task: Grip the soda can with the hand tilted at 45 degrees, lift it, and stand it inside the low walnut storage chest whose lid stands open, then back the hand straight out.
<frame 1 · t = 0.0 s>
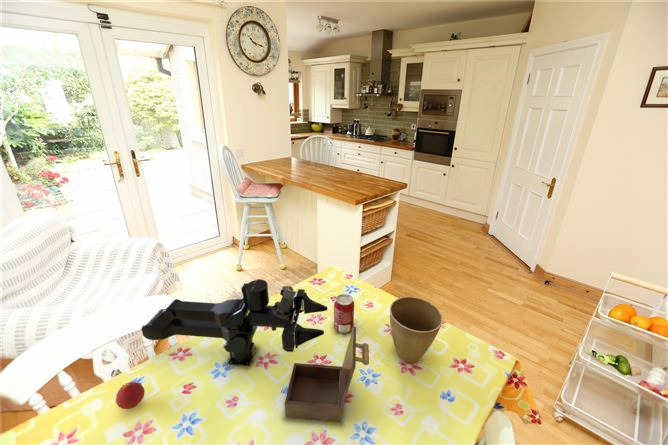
hand: (325, 319, 80), 17 cm above the table, tool horizontal, fingers open, 9 cm apart
onion: (134, 405, 74), on the table
plant pot: (409, 353, 90), on the table
soda can: (343, 327, 100), on the table
chest lid: (355, 367, 71), point 12 cm above the table, hinge at 100.0°
chest: (316, 397, 77), on the table
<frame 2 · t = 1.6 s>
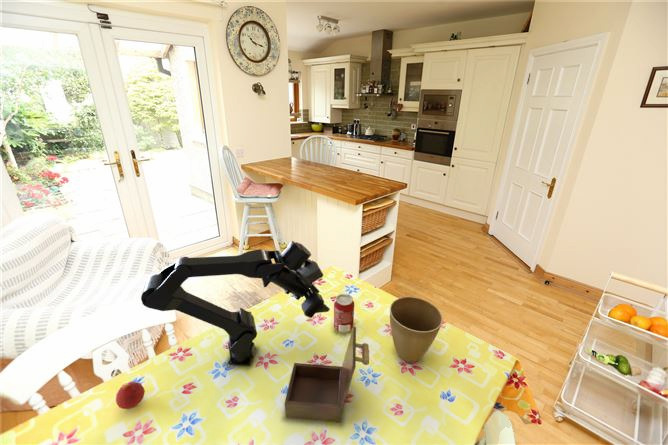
hand: (323, 300, 92), 13 cm above the table, tool tilted 45°, fingers open, 9 cm apart
nothing on the table moved.
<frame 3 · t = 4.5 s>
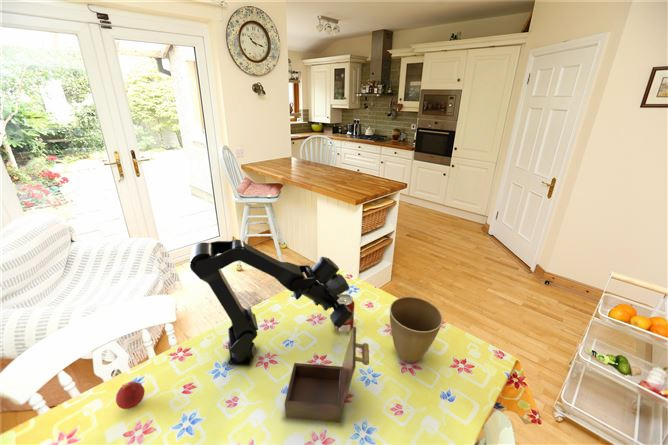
hand: (347, 310, 98), 7 cm above the table, tool tilted 45°, fingers closed on soda can, 7 cm apart
soda can: (343, 327, 100), on the table, touching gripper
everything else where it was.
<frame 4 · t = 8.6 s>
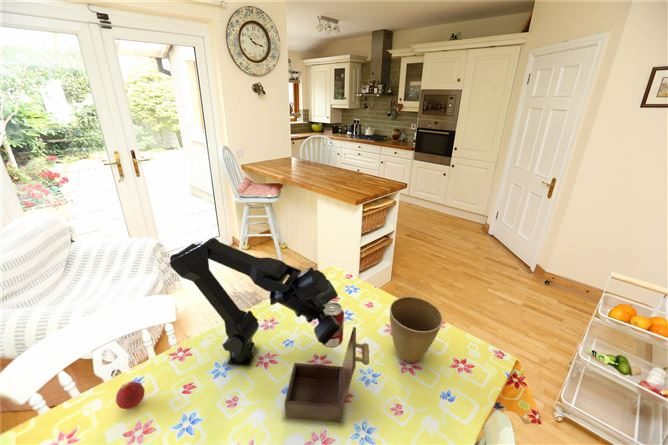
hand: (336, 321, 83), 13 cm above the table, tool tilted 45°, fingers closed on soda can, 7 cm apart
soda can: (331, 340, 86), point 7 cm above the table, touching gripper
everything else where it was.
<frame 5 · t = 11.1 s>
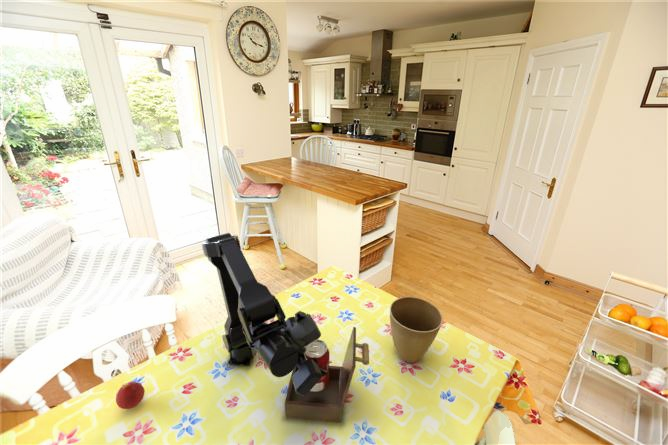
hand: (320, 362, 72), 12 cm above the table, tool tilted 45°, fingers closed on soda can, 7 cm apart
soda can: (315, 382, 75), point 5 cm above the table, touching gripper
everything else where it was.
when the fingers open (7 cm above the table, at t = 13.0 s): soda can stays where it is, resting on chest.
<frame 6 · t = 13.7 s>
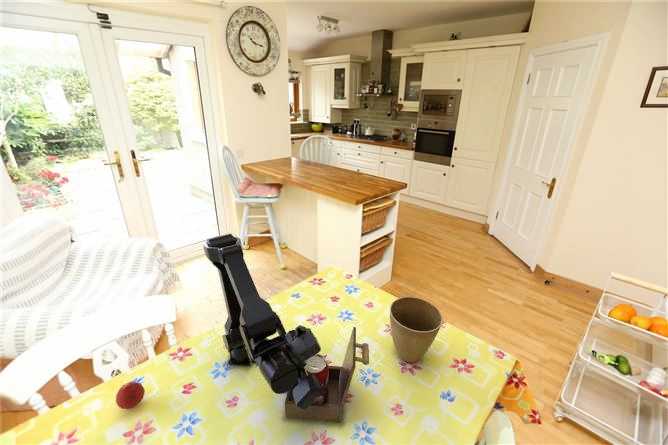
hand: (321, 374, 74), 8 cm above the table, tool tilted 45°, fingers open, 9 cm apart
soda can: (315, 395, 76), point 1 cm above the table, touching chest
everything else where it was.
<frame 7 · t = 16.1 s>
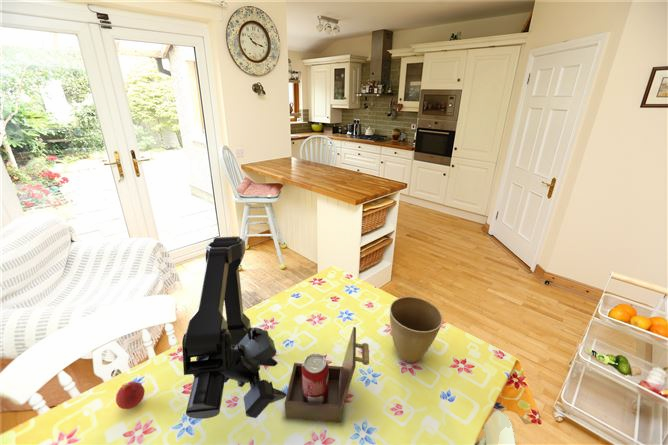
hand: (280, 379, 70), 10 cm above the table, tool tilted 45°, fingers open, 9 cm apart
nothing on the table moved.
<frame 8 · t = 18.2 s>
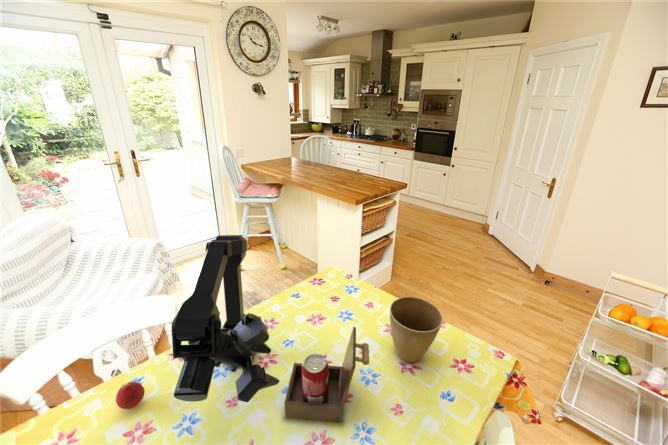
hand: (274, 366, 69), 14 cm above the table, tool tilted 45°, fingers open, 9 cm apart
nothing on the table moved.
at the end: soda can inside the target area in the chest (0.1 cm from its centre), point 0.6 cm above the chest's base; soda can tilted 0°; the gripper is holding nothing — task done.
